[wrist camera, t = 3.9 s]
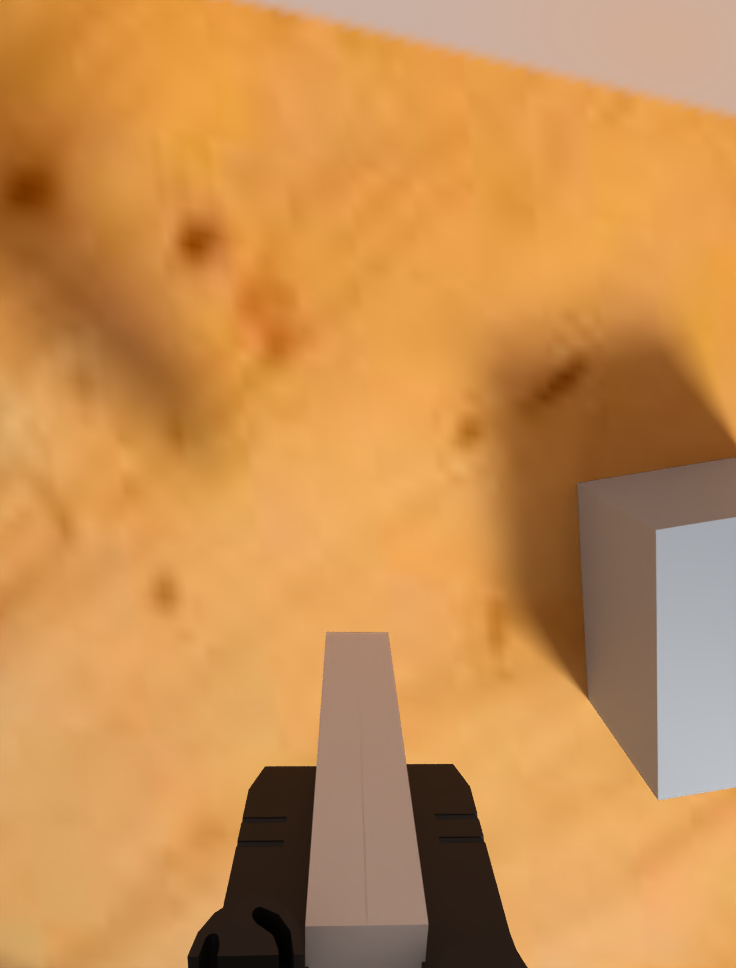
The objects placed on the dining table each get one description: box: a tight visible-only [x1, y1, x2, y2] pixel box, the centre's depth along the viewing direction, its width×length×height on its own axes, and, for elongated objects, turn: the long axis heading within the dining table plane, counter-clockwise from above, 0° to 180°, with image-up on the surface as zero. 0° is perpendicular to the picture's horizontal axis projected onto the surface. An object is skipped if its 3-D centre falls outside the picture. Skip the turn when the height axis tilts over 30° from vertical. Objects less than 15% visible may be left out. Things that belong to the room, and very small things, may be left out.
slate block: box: [577, 457, 736, 800], centre depth 17 cm, size 6×9×5 cm, turn 9°
